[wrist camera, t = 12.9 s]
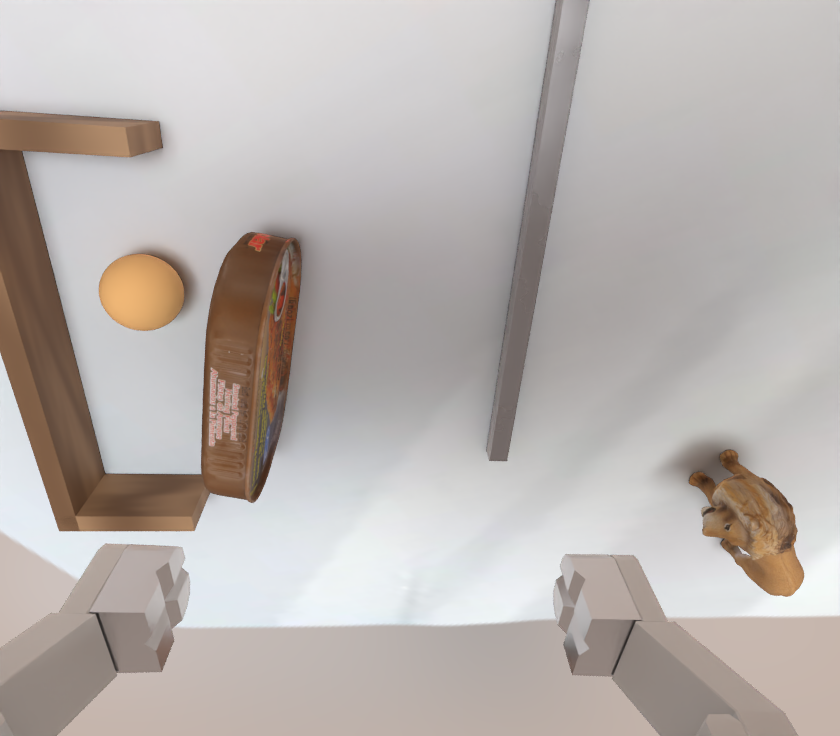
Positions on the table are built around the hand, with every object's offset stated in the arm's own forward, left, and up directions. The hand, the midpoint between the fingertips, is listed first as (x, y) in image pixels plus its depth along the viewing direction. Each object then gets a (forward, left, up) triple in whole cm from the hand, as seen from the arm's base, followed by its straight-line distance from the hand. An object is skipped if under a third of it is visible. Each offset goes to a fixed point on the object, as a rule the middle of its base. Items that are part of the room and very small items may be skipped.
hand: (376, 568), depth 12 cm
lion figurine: (-26, +17, -22) cm, 38 cm away
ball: (+12, +1, -20) cm, 23 cm away
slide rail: (-9, -3, -22) cm, 23 cm away
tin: (+6, +5, -22) cm, 23 cm away
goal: (+15, +5, -22) cm, 27 cm away
